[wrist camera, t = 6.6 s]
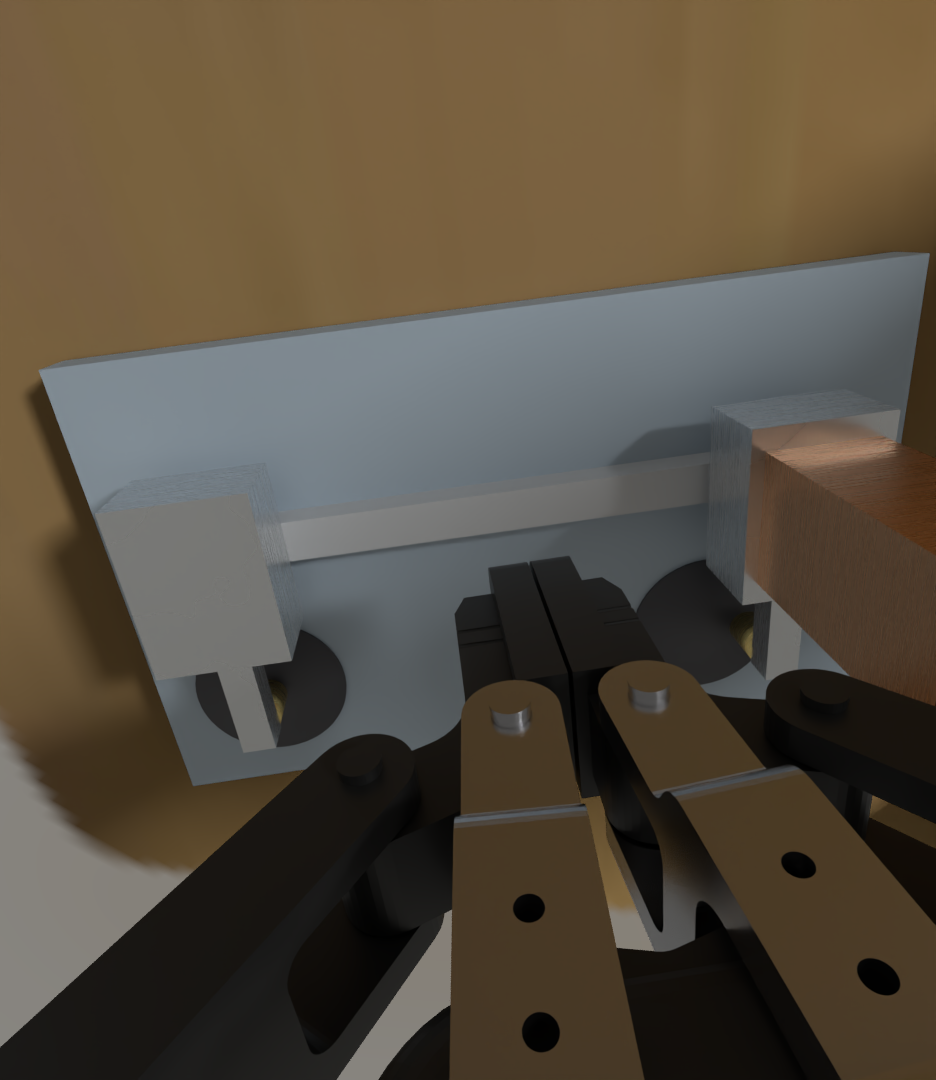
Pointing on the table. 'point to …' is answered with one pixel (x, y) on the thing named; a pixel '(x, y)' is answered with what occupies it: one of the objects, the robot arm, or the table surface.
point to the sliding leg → (826, 536)
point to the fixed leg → (210, 585)
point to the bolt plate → (481, 471)
